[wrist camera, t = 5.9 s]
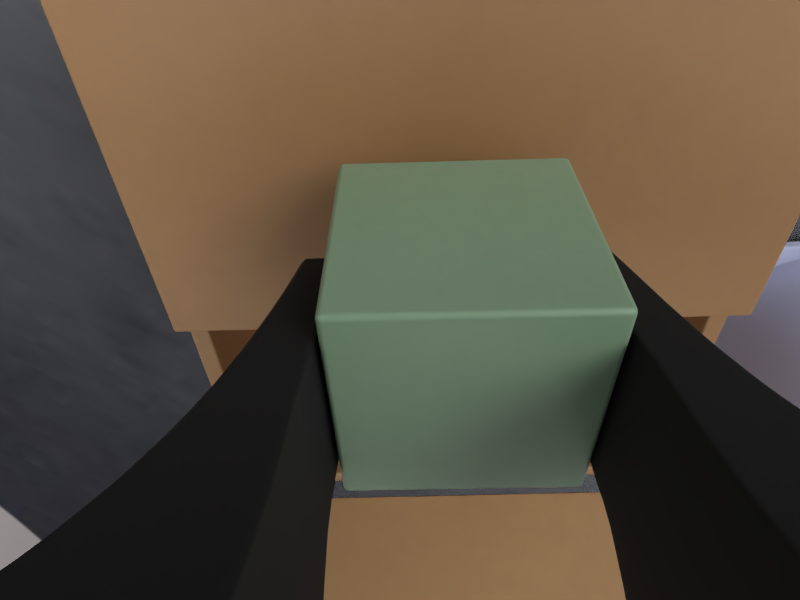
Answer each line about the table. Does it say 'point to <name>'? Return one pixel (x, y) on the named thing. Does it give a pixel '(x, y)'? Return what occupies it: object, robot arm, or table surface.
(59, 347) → the table surface
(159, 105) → the carton
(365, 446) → the cube
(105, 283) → the table surface
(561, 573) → the flap
